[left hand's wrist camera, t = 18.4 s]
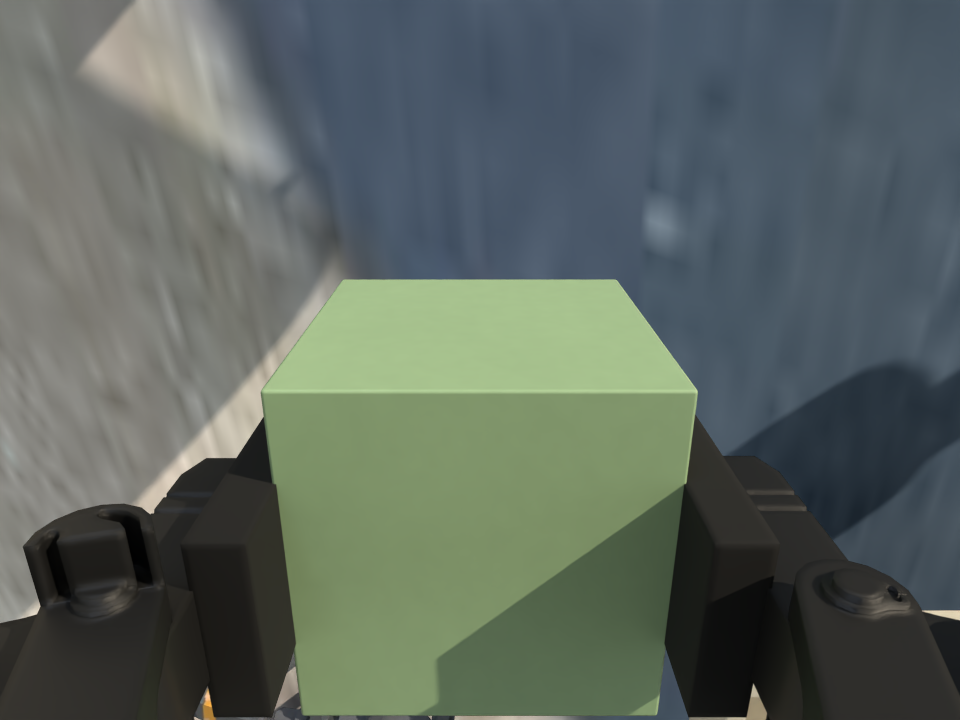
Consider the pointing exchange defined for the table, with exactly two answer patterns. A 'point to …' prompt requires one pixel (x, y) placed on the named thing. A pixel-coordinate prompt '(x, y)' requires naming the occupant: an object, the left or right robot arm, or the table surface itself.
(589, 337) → the green block
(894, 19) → the table surface
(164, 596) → the left robot arm
